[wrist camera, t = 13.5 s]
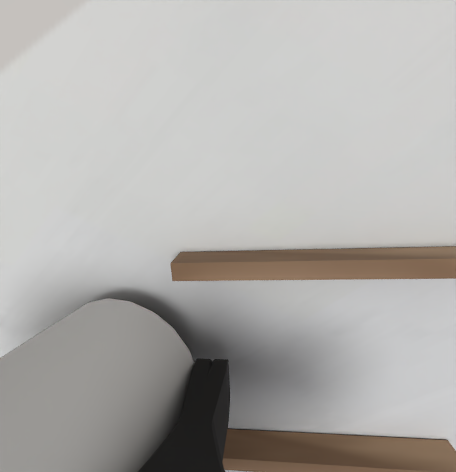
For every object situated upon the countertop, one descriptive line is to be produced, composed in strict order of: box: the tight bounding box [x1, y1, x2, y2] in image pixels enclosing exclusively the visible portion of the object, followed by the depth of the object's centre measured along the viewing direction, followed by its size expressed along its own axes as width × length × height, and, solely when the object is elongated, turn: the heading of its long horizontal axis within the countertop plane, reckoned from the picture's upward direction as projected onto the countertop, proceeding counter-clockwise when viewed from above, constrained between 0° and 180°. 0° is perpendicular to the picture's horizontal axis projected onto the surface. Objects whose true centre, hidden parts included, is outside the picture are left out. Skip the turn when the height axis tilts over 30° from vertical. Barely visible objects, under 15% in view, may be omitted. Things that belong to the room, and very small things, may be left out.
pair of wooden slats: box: [171, 246, 456, 472], centre depth 12 cm, size 12×14×2 cm
